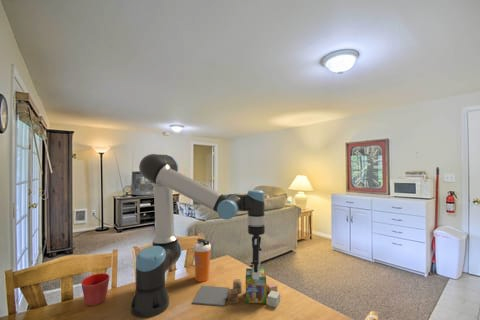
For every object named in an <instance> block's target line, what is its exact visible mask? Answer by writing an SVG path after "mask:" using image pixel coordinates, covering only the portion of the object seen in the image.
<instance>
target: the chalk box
mask: <svg viewBox="0 0 480 320" xmlns="http://www.w3.org/2000/svg"><path fill="white" fill-rule="evenodd" d="M245 269H246V270H245V272H246V273H245V303H246V304H268V299H267V293H266V283H267V273H266V269H265V268H259V279H253V268H245Z"/></svg>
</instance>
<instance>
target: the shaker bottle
mask: <svg viewBox="0 0 480 320" xmlns="http://www.w3.org/2000/svg"><path fill="white" fill-rule="evenodd" d="M196 241H197V242H195V243H194V245H193V253H194V279H195V281H196V282H199V283H204V282H207V281H208V280H209V278H210V264H211V261H210V260H211V248H212V247H211V246H212V245H211V243H210V241H209V240H206V239H204V238H197V239H196Z"/></svg>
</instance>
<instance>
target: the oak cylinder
mask: <svg viewBox="0 0 480 320" xmlns="http://www.w3.org/2000/svg"><path fill="white" fill-rule="evenodd" d="M242 284H243V283H242V279H239V278H235V279H233V280H232V289H237V291H238V295H239V294H241V293H242V291H243V290H242Z"/></svg>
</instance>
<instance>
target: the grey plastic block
mask: <svg viewBox="0 0 480 320" xmlns="http://www.w3.org/2000/svg"><path fill="white" fill-rule="evenodd" d="M280 302H281V292H280V291H277V292H276V291H272V290H271V292H270V293H269V295H268V294H267V306H269V307H272V308H273V307H274V308H278V307H279V304H280Z"/></svg>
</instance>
